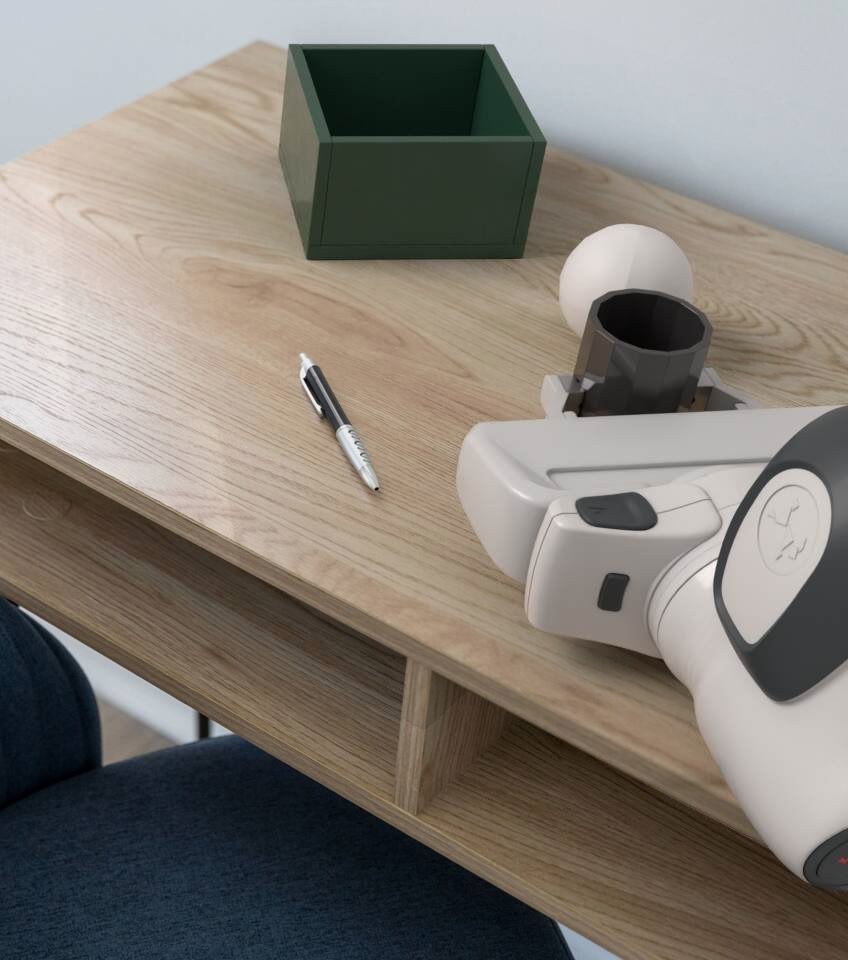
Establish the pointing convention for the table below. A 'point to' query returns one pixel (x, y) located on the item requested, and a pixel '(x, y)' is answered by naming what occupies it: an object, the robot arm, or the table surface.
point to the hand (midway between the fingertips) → (623, 382)
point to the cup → (641, 354)
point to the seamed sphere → (621, 269)
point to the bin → (408, 151)
